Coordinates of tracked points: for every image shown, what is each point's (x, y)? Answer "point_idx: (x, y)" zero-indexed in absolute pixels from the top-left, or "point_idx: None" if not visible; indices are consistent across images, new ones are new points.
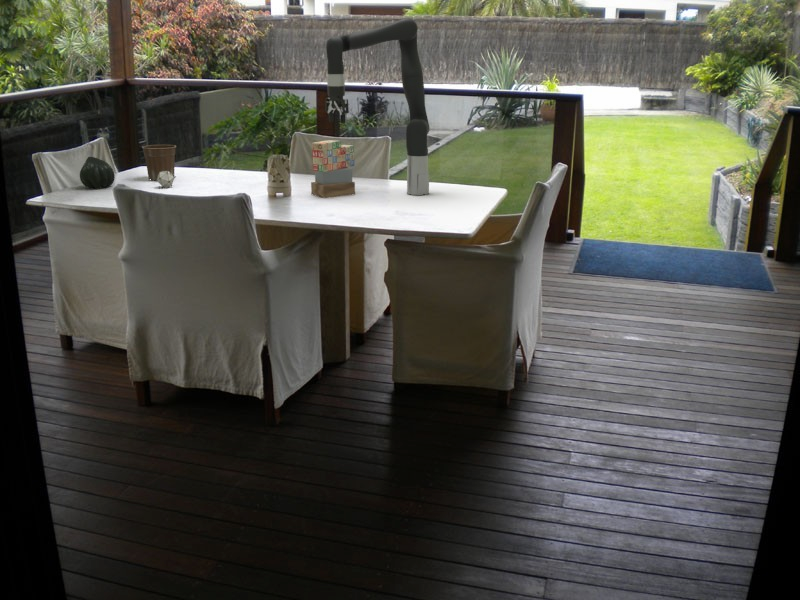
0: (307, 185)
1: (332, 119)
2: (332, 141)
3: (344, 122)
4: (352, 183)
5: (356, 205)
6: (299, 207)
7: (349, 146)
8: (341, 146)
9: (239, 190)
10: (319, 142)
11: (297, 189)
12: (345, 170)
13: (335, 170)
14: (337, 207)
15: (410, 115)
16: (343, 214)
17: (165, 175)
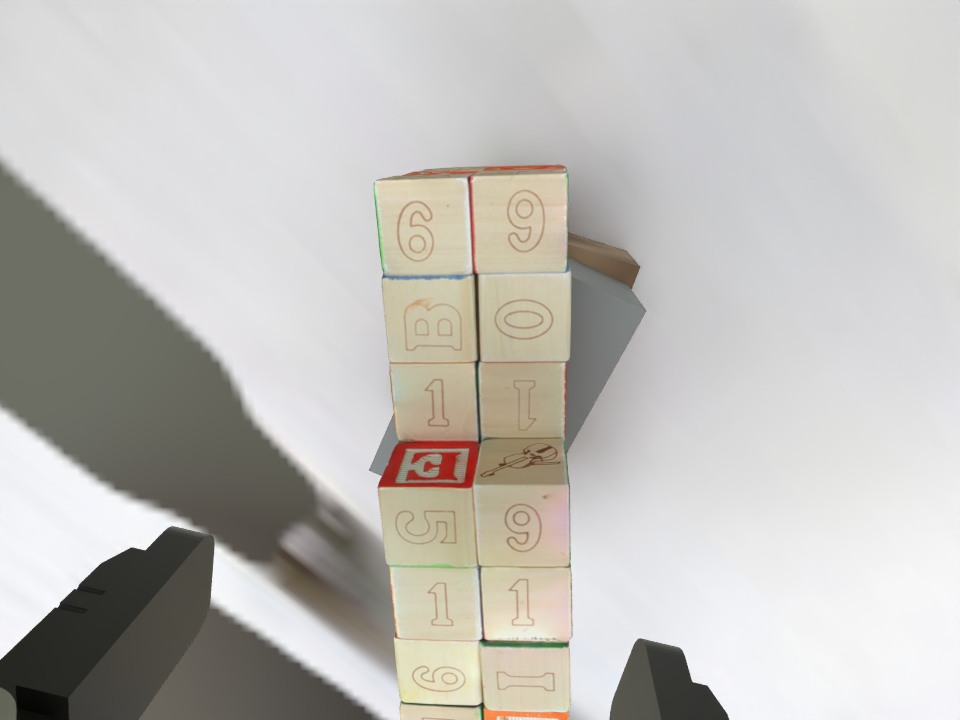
0: (128, 188)
1: (176, 600)
2: (522, 592)
3: (675, 673)
4: (631, 285)
5: (847, 518)
6: (613, 695)
7: (570, 280)
8: (496, 359)
9: (27, 550)
10: (452, 716)
11: (209, 344)
12: (613, 366)
13: (568, 446)
14: (782, 608)
15: None
16: (910, 708)
17: None
